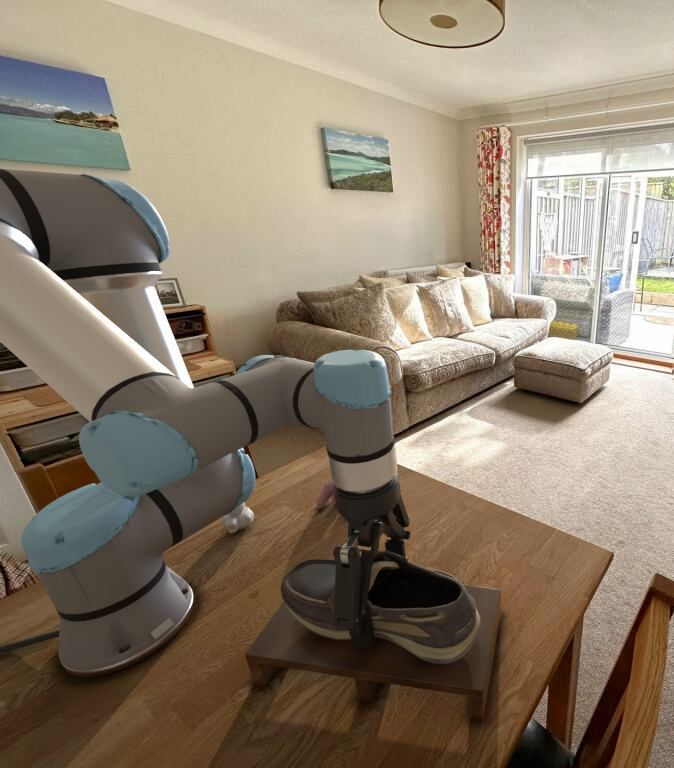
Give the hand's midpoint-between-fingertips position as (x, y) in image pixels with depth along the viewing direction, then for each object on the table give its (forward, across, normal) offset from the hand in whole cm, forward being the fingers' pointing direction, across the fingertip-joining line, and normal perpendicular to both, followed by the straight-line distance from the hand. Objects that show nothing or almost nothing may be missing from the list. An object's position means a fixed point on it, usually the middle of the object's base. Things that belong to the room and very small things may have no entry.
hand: (382, 606), depth 57 cm
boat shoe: (+2, 0, 0) cm, 2 cm away
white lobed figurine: (+9, -20, -40) cm, 45 cm away
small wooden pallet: (+8, 0, 0) cm, 8 cm away
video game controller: (+9, -30, -23) cm, 38 cm away
